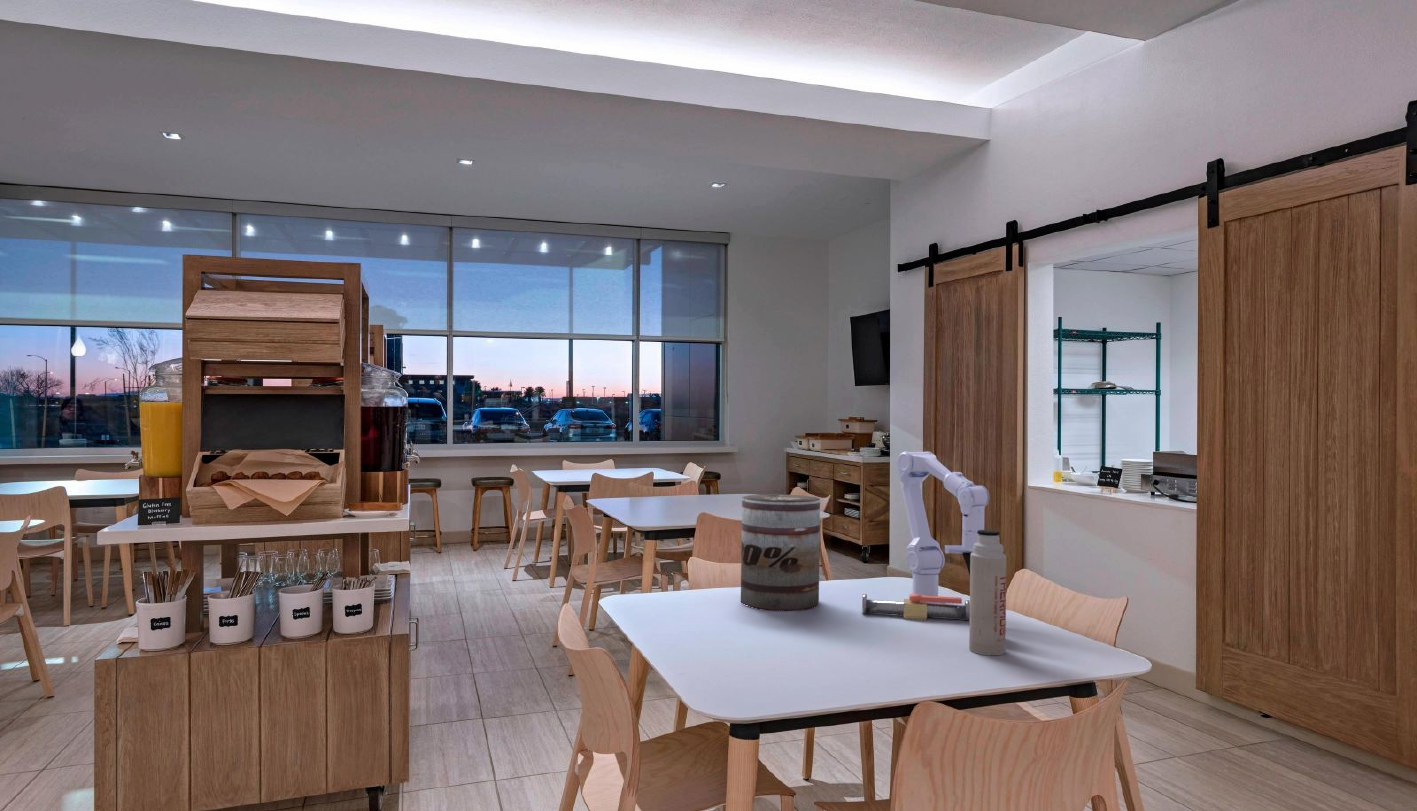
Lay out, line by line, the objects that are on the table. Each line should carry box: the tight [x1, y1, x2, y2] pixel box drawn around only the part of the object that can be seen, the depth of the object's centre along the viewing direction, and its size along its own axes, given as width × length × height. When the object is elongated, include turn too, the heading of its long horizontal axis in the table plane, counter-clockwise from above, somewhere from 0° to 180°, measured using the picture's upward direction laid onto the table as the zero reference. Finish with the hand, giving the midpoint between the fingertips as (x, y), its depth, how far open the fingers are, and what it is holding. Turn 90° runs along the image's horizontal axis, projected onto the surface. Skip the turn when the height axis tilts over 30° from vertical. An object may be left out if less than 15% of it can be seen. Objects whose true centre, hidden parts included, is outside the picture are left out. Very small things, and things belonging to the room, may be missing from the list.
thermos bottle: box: [968, 529, 1007, 656], centre depth 200 cm, size 8×8×28 cm
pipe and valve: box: [861, 593, 970, 621], centre depth 233 cm, size 6×28×5 cm, turn 77°
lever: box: [908, 593, 963, 605], centre depth 232 cm, size 14×3×1 cm, turn 78°
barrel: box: [740, 493, 821, 612], centre depth 248 cm, size 22×22×30 cm
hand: (972, 581), depth 232 cm, fingers closed
